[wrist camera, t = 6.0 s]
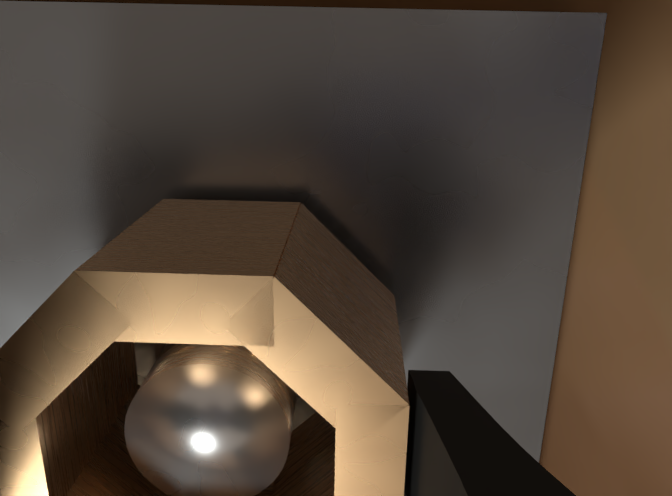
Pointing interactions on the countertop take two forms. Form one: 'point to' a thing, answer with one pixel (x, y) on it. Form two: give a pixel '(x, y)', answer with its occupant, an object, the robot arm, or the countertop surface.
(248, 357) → the piston stand
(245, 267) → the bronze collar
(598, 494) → the countertop surface
